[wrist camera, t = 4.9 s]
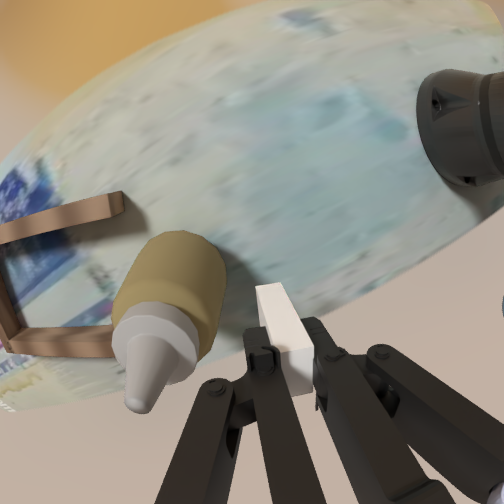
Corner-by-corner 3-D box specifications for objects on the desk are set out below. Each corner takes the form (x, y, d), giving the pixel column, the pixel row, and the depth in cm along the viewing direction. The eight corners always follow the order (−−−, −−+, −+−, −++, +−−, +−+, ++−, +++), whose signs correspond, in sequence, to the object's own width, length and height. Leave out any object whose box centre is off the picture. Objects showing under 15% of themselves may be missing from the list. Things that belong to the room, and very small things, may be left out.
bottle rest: (121, 190, 24) (107, 193, 20) (156, 337, 28) (150, 355, 25) (-18, 231, 22) (-34, 238, 19) (18, 339, 27) (7, 352, 24)
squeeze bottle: (202, 313, 28) (190, 468, 11) (133, 277, 26) (47, 406, 9) (242, 248, 27) (276, 381, 9) (167, 206, 25) (68, 280, 7)
